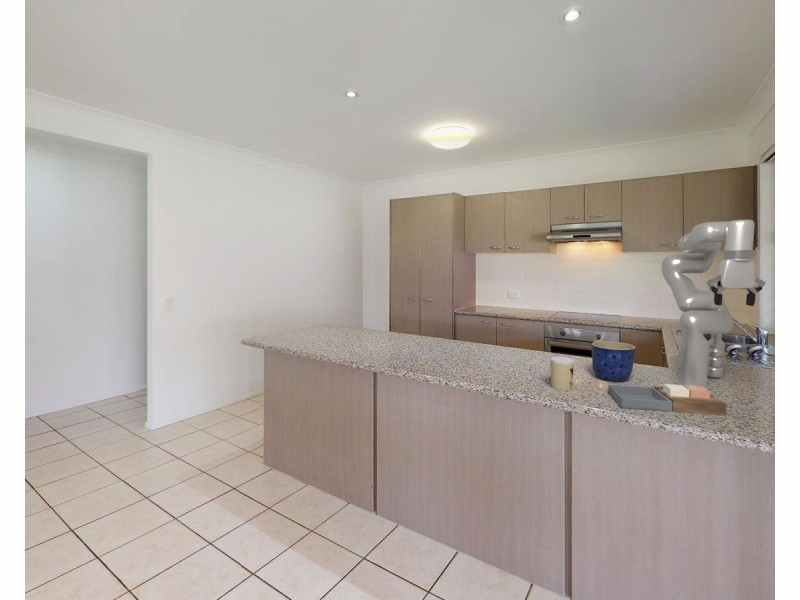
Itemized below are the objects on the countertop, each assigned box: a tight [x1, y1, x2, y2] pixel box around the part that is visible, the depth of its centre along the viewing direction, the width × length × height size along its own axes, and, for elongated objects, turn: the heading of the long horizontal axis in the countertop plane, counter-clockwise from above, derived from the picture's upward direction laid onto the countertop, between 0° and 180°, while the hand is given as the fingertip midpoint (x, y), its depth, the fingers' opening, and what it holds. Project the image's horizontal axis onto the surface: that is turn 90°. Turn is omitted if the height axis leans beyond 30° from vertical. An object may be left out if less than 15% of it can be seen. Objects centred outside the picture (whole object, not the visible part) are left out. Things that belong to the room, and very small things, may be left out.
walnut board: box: [653, 385, 727, 416], centre depth 145 cm, size 16×16×4 cm
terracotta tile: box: [683, 385, 711, 398], centre depth 145 cm, size 6×6×2 cm
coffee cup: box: [549, 356, 575, 391], centre depth 166 cm, size 9×9×12 cm
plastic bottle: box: [707, 334, 726, 379], centre depth 178 cm, size 6×7×20 cm
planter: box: [591, 340, 636, 382], centre depth 177 cm, size 17×17×15 cm
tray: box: [607, 384, 672, 412], centre depth 149 cm, size 16×16×4 cm
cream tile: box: [662, 383, 690, 397], centre depth 146 cm, size 6×6×2 cm
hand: (733, 305), depth 141 cm, fingers open, 9 cm apart
